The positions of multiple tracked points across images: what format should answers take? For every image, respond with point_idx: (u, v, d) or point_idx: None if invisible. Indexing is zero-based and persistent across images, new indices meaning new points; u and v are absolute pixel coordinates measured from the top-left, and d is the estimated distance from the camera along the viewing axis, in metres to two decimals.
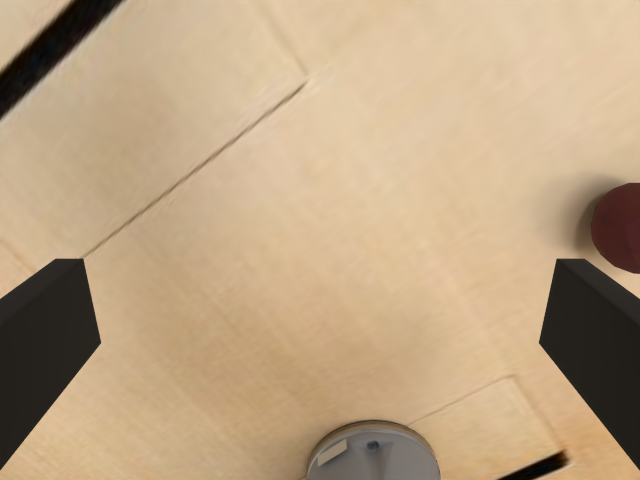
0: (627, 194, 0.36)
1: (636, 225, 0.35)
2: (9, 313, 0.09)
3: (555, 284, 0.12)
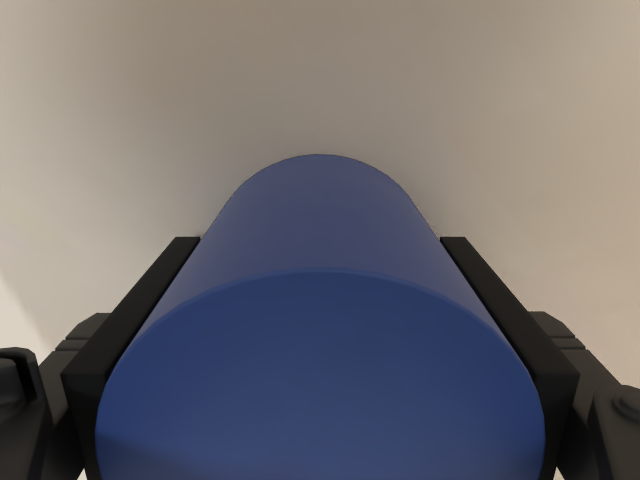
0: None
1: None
2: (165, 278, 0.11)
3: None
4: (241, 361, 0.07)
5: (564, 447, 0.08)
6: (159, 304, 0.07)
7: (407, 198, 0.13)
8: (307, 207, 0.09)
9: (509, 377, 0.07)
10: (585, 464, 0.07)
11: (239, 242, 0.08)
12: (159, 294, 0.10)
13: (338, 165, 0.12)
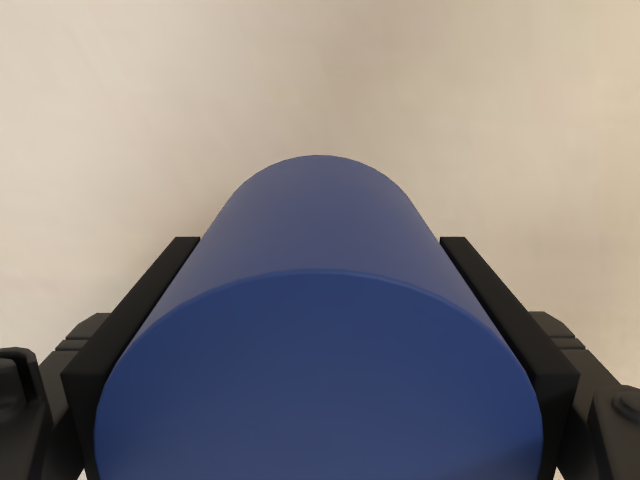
0: None
1: None
2: (165, 278, 0.11)
3: None
4: (239, 362, 0.07)
5: (564, 447, 0.08)
6: (158, 305, 0.07)
7: (406, 199, 0.13)
8: (305, 208, 0.09)
9: (507, 378, 0.07)
10: (585, 464, 0.07)
11: (238, 243, 0.08)
12: (159, 294, 0.10)
13: (337, 166, 0.12)
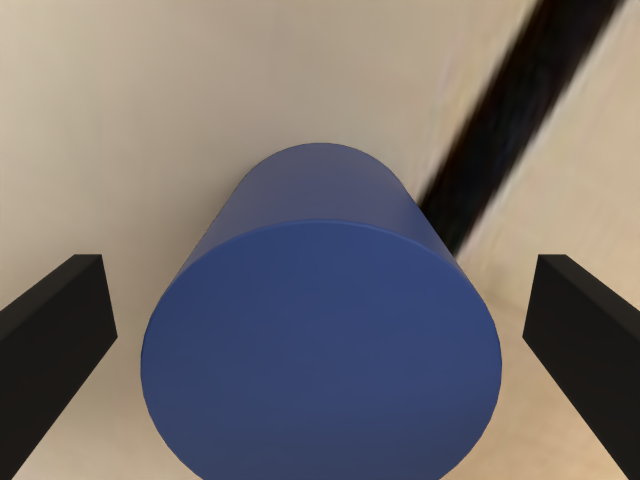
0: None
1: None
2: (35, 306, 0.10)
3: (537, 279, 0.12)
4: (258, 295, 0.08)
5: None
6: (191, 255, 0.09)
7: (397, 180, 0.14)
8: (310, 181, 0.10)
9: (470, 309, 0.08)
10: None
11: (255, 207, 0.09)
12: (17, 326, 0.09)
13: (336, 151, 0.14)
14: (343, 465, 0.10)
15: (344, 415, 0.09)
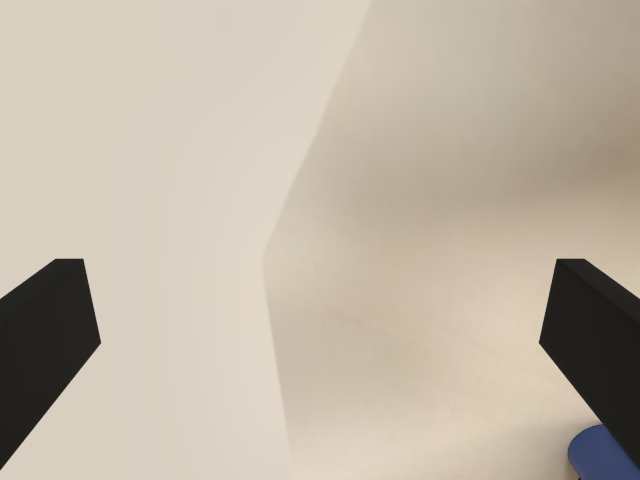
0: None
1: None
2: (9, 313, 0.09)
3: (555, 284, 0.12)
4: None
5: None
6: None
7: None
8: None
9: None
10: None
11: (632, 476, 0.45)
12: None
13: None
14: None
15: None
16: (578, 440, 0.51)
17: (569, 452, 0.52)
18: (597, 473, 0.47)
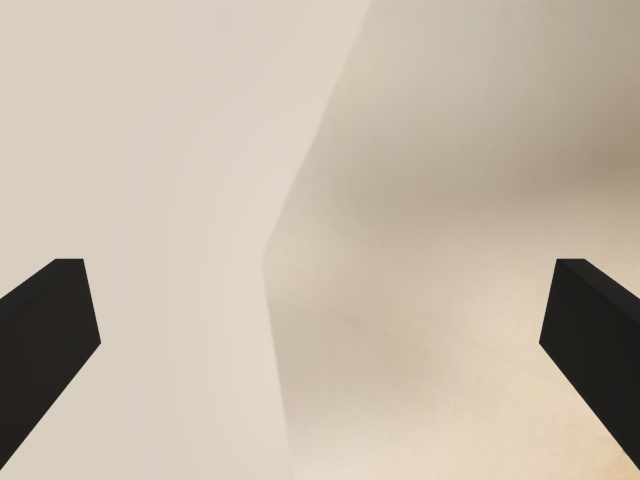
0: None
1: None
2: (9, 313, 0.09)
3: (555, 284, 0.12)
4: None
5: None
6: None
7: None
8: None
9: None
10: None
11: None
12: None
13: None
14: None
15: None
16: None
17: None
18: None
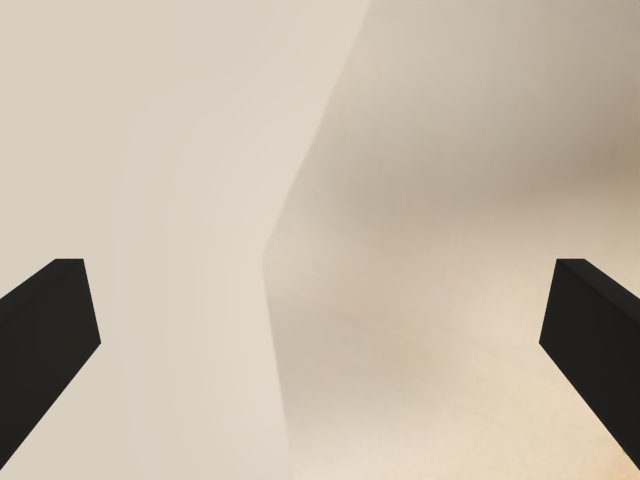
0: None
1: None
2: (9, 313, 0.09)
3: (555, 284, 0.12)
4: None
5: None
6: None
7: None
8: None
9: None
10: None
11: None
12: None
13: None
14: None
15: None
16: None
17: None
18: None
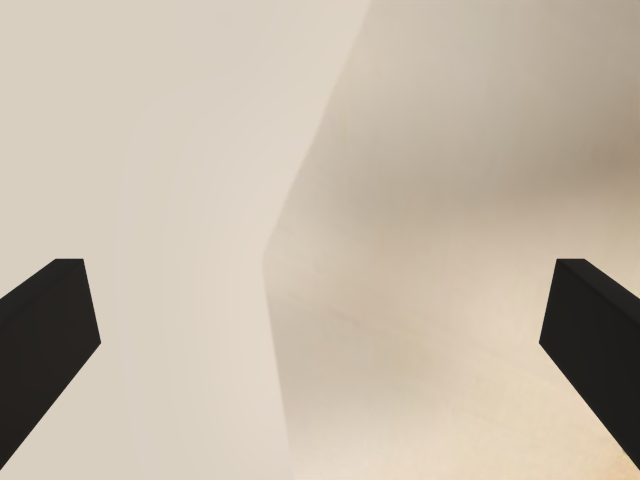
0: None
1: None
2: (9, 313, 0.09)
3: (555, 284, 0.12)
4: None
5: None
6: None
7: None
8: None
9: None
10: None
11: None
12: None
13: None
14: None
15: None
16: None
17: None
18: None
